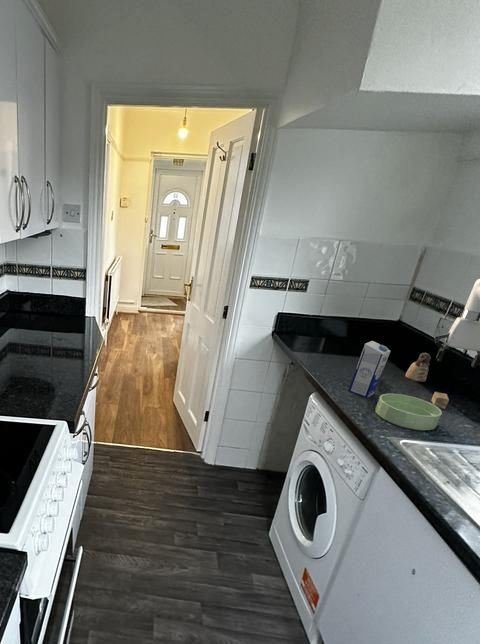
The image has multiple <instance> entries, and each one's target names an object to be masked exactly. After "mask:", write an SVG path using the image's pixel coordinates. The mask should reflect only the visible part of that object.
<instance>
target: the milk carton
mask: <svg viewBox="0 0 480 644" xmlns="http://www.w3.org/2000/svg"><path fill="white" fill-rule="evenodd" d="M390 354H391V350H390V349H389V348H388V346H385V345H384V344H380V343H378V342H376V341H374V340H371V341H368V342H366V343H364V346H363V348H362V351H361V354H360V357H359V360H358V362H357V365H356V368H355V371H354V372H353V373H354V374H353V377H352V379H351V382H350V384H349V387H348V390H347V391H348V392H349V391H350V392H349V393H352V394H354V393H355V395H358V396H360V397H363V398H364V399H365V398H366V399H368V398H370V397H371V396H373V395H374V394H375V392H376V389H377V387H378V384H379V382H380V379H381V376H382V375H383V372H384V369H385V366H386V365H387V361H388V360H389V359H388V358H389V356H390Z"/></svg>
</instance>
